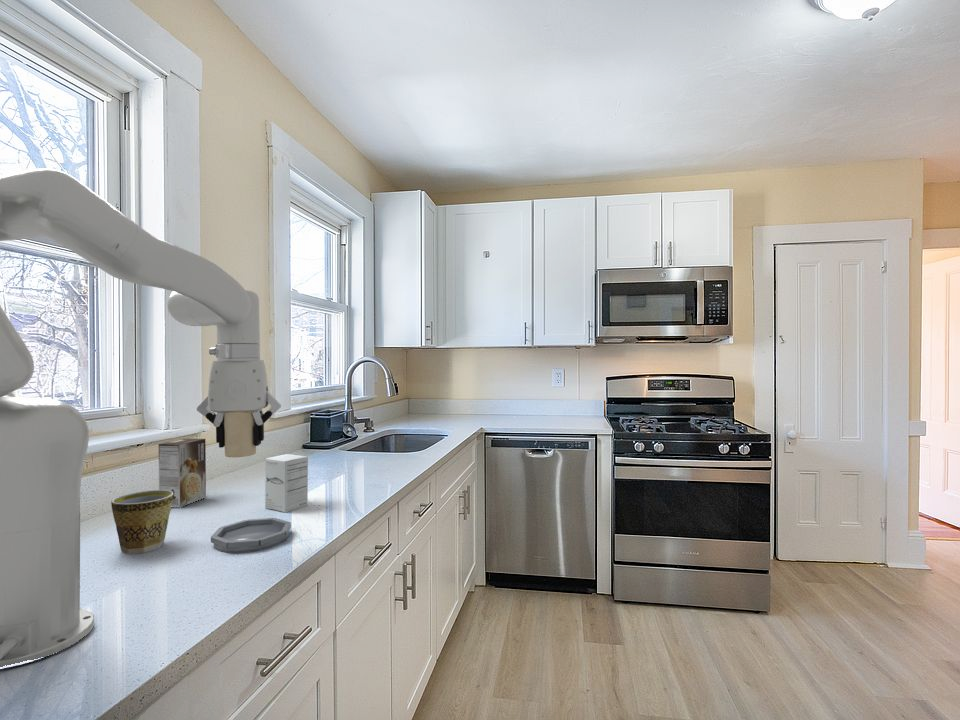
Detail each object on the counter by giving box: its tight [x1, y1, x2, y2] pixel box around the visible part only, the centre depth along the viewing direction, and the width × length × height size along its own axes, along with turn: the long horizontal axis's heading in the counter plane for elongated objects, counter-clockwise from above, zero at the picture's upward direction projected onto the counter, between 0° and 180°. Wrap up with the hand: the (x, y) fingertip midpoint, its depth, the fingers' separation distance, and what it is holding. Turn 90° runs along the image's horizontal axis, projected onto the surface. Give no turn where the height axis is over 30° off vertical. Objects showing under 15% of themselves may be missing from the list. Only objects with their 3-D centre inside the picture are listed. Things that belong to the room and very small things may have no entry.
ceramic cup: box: [110, 489, 173, 555], centre depth 95 cm, size 13×10×10 cm
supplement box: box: [264, 453, 309, 513], centre depth 121 cm, size 7×7×13 cm
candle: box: [224, 412, 257, 458], centre depth 94 cm, size 6×6×10 cm
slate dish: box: [210, 517, 292, 554], centre depth 99 cm, size 14×14×2 cm
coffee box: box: [158, 438, 207, 508], centre depth 125 cm, size 9×6×16 cm
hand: (240, 444), depth 94 cm, fingers closed on candle, 5 cm apart
